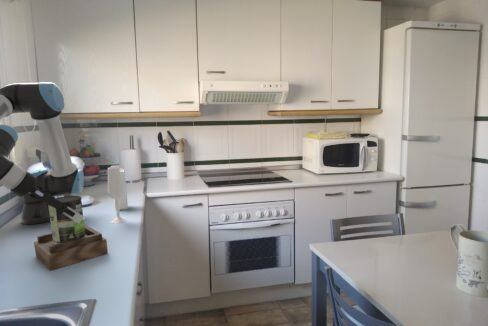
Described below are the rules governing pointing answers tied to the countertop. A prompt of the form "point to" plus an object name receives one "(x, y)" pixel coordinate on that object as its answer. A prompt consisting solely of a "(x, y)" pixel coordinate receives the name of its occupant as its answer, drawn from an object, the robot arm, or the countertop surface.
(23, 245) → the countertop surface
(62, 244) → the display stand
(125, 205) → the milk
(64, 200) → the coffee can
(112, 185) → the champagne flute
